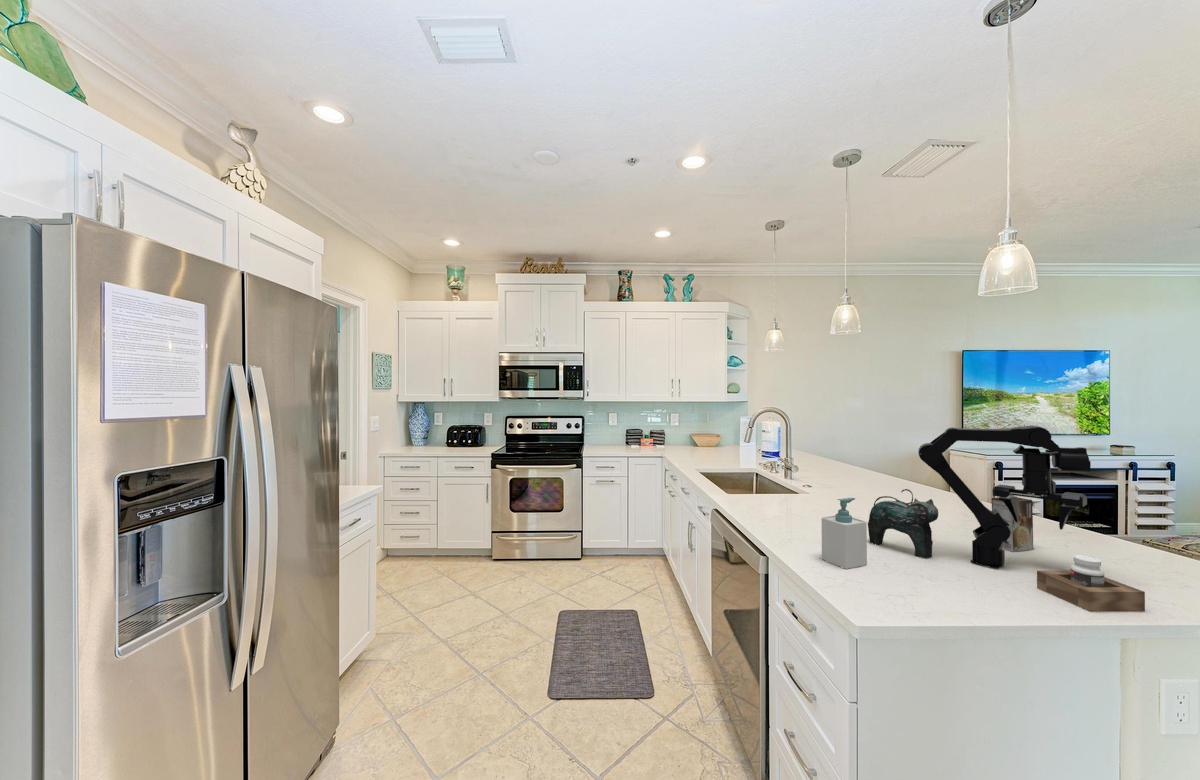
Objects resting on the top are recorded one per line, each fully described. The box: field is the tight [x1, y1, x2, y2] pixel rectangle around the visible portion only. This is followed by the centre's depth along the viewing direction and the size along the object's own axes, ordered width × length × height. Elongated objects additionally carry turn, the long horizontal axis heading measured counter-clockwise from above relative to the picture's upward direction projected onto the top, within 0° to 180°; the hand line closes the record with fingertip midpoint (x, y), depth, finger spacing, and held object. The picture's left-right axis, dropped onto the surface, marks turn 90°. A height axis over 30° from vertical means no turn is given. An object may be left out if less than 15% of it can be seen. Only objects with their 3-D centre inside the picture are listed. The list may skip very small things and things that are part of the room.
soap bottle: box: [821, 497, 868, 570], centre depth 138 cm, size 9×9×19 cm
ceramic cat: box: [867, 488, 939, 560], centre depth 148 cm, size 20×6×20 cm, turn 28°
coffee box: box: [991, 496, 1034, 553], centre depth 149 cm, size 9×6×16 cm
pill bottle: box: [1070, 554, 1105, 587], centre depth 113 cm, size 6×6×10 cm
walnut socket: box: [1036, 569, 1146, 612], centre depth 113 cm, size 13×13×4 cm
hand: (1038, 525), depth 130 cm, fingers open, 9 cm apart
